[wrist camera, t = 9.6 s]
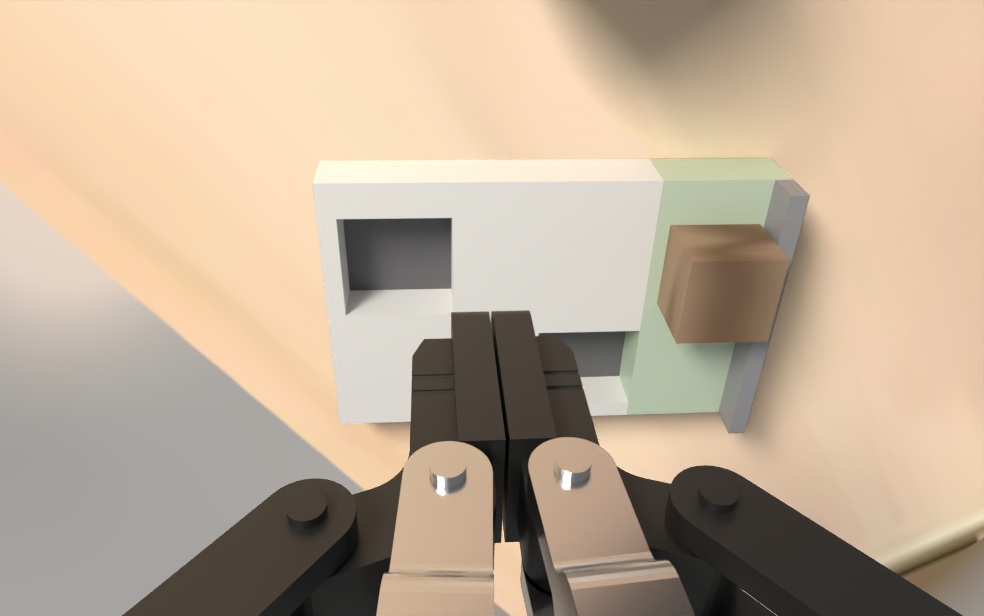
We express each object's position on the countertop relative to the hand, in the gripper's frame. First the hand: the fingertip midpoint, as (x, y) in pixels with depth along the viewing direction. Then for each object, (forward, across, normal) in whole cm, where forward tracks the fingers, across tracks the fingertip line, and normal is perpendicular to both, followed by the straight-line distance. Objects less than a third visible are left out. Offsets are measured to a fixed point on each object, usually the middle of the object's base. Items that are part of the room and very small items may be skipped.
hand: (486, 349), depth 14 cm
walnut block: (+24, -14, +12) cm, 30 cm away
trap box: (+27, -6, +15) cm, 31 cm away
